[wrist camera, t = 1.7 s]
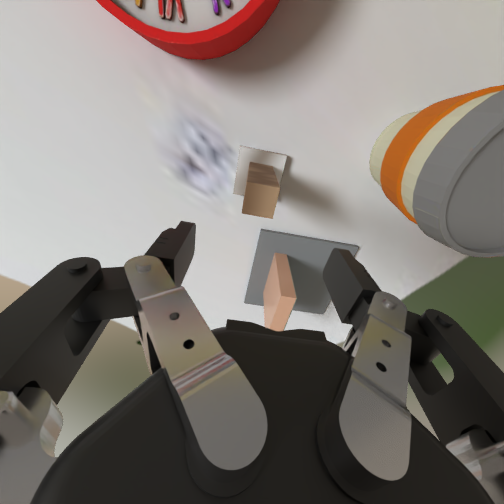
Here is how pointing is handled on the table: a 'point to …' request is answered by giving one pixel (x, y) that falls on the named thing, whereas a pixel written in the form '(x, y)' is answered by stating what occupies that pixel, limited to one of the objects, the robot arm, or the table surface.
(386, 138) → the reusable coffee cup
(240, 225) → the table surface
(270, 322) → the tile
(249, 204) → the scraper
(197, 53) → the toy clock
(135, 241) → the table surface
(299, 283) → the mat
